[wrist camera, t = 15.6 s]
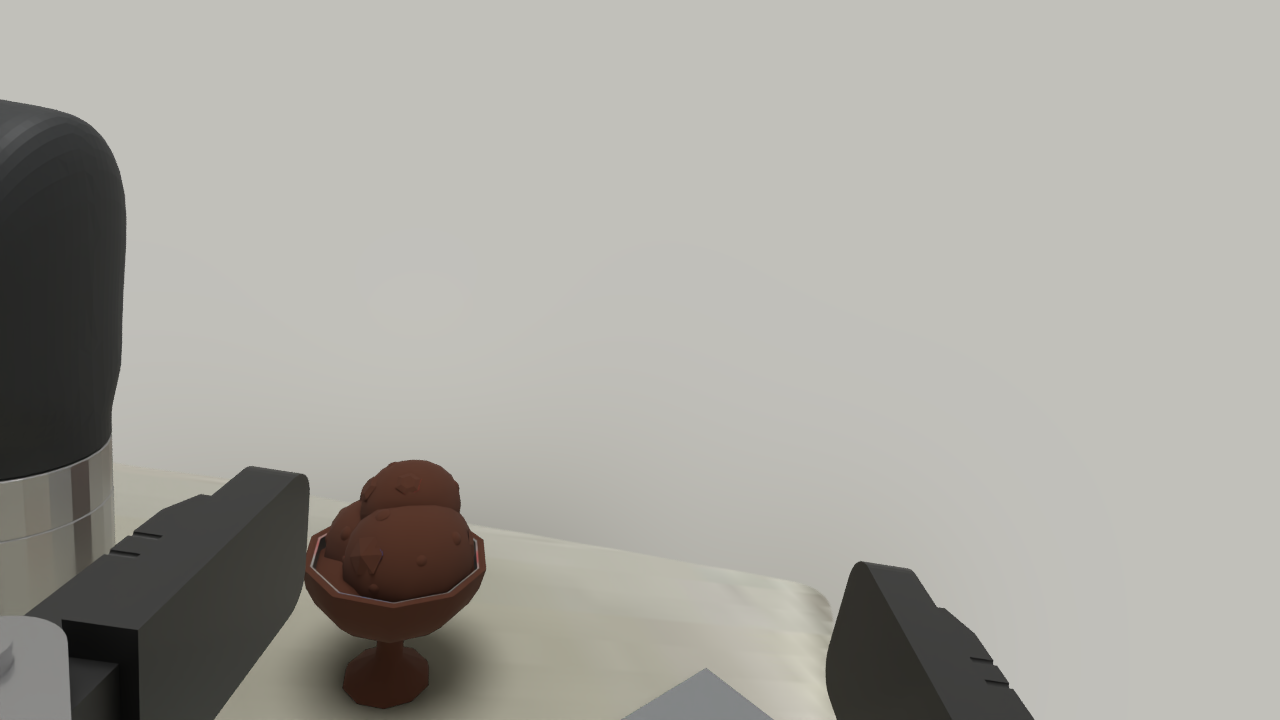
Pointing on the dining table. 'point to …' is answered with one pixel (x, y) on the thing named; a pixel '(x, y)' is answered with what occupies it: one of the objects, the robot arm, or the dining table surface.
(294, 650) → the dining table surface
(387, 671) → the ice cream bowl
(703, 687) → the mat
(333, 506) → the dining table surface
